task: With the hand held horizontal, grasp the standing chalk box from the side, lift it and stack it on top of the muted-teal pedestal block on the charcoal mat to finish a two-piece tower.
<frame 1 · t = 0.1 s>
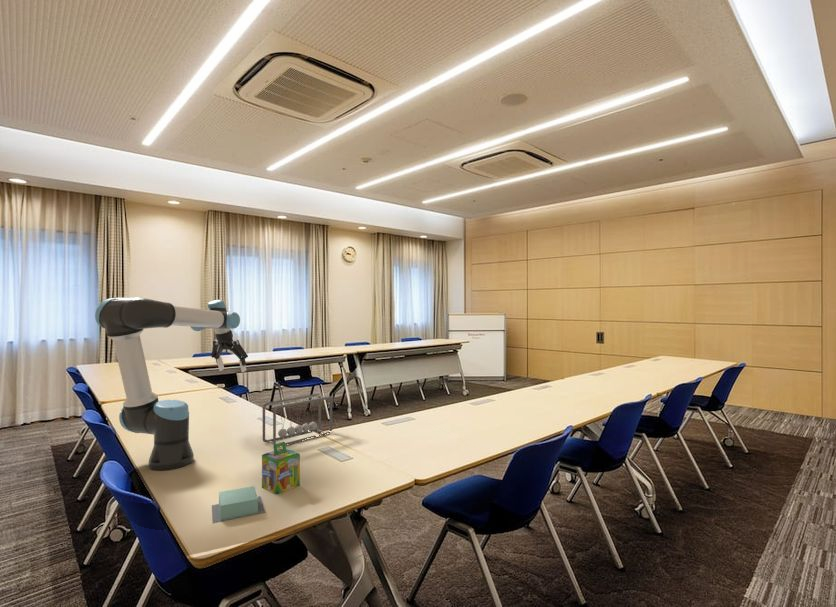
hand: (233, 370, 218), 28 cm above the table, tool tilted 20°, fingers open, 13 cm apart
pedestal: (238, 508, 129), point 1 cm above the table, touching mat
newton's cradle: (298, 438, 199), on the table
chalk box: (280, 488, 145), on the table
mat: (238, 510, 129), on the table
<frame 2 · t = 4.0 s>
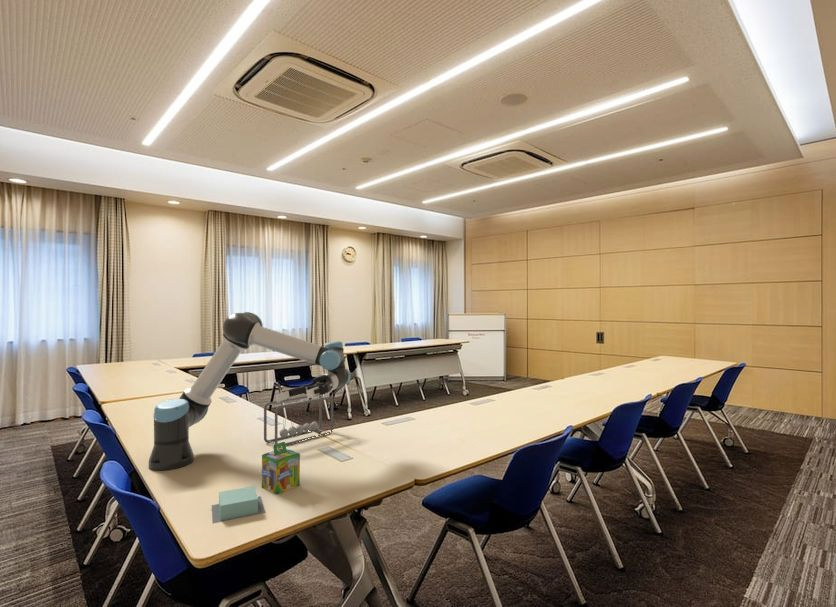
hand: (292, 396, 156), 28 cm above the table, tool horizontal, fingers open, 13 cm apart
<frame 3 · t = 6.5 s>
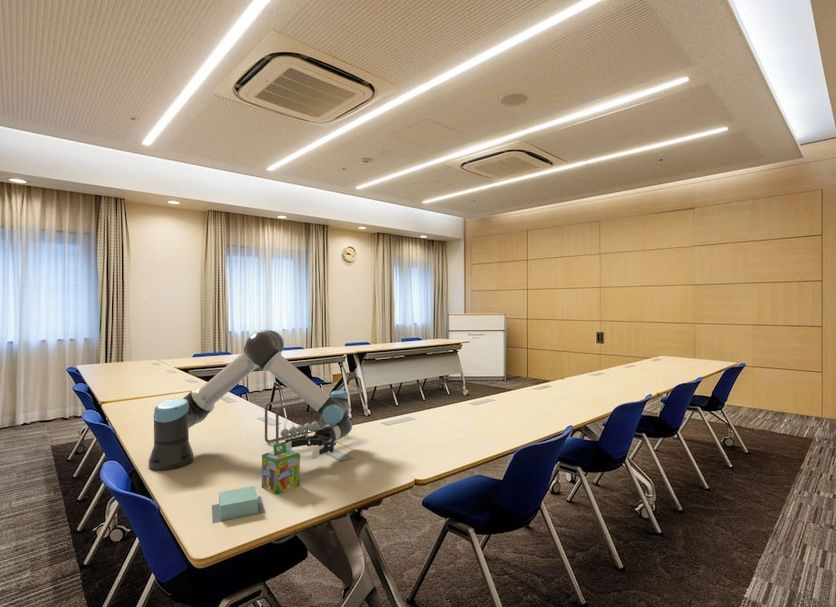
hand: (296, 452, 153), 9 cm above the table, tool horizontal, fingers open, 13 cm apart
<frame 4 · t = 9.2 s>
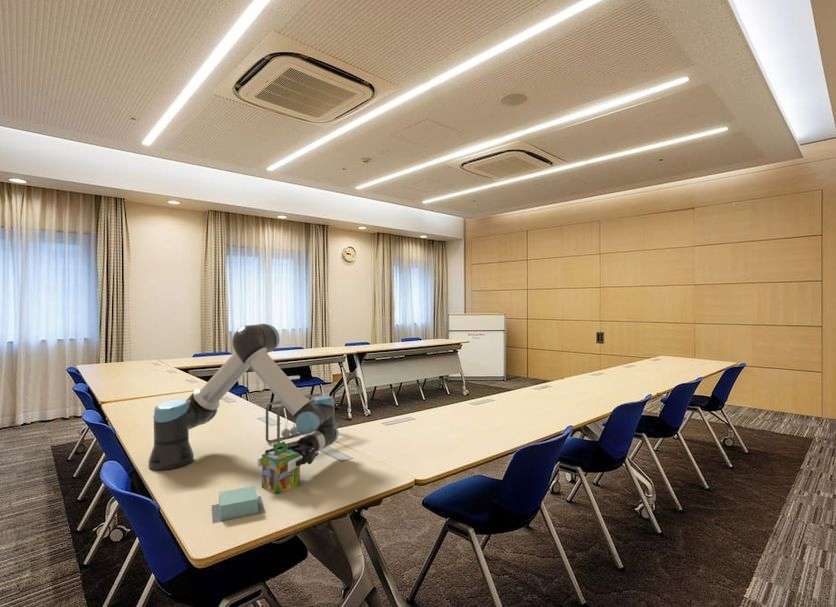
hand: (273, 465, 141), 9 cm above the table, tool horizontal, fingers closed on chalk box, 11 cm apart
chalk box: (281, 488, 145), on the table, touching gripper
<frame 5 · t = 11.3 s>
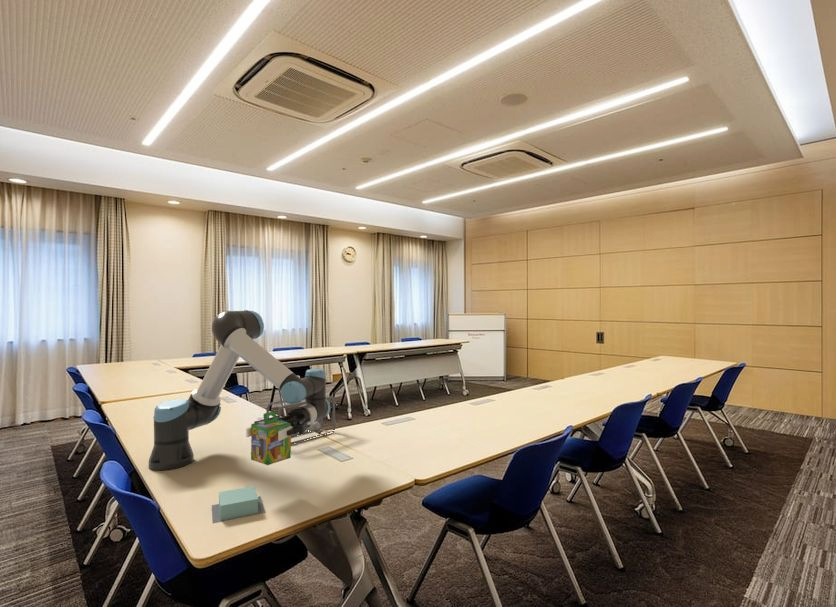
hand: (263, 434, 136), 21 cm above the table, tool horizontal, fingers closed on chalk box, 11 cm apart
chalk box: (271, 459, 139), point 11 cm above the table, touching gripper
when the fingers open (15 cm above the table, at t = 13.7 s): chalk box drops 1 cm, resting on pedestal.
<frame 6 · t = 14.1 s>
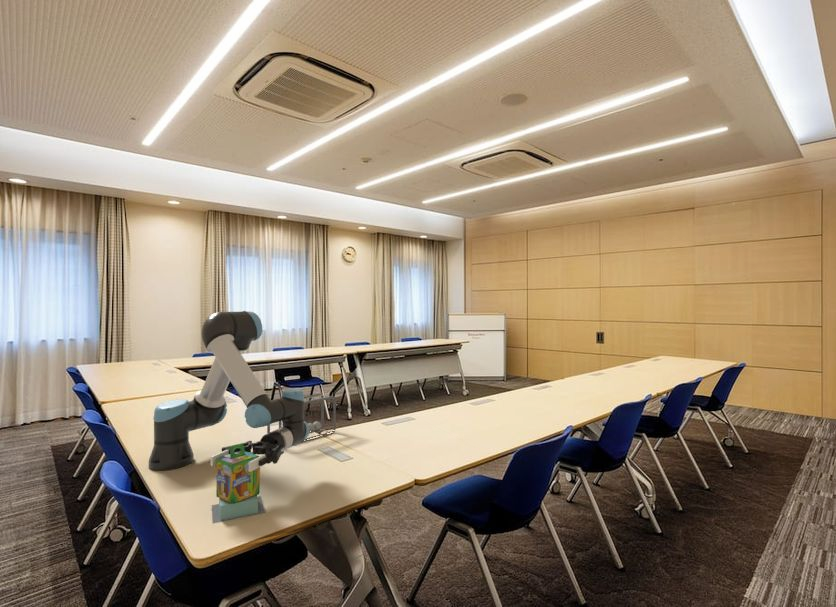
hand: (230, 464, 126), 15 cm above the table, tool horizontal, fingers open, 13 cm apart
pedestal: (238, 508, 129), point 1 cm above the table, touching chalk box, mat
chalk box: (238, 496, 129), point 4 cm above the table, touching pedestal
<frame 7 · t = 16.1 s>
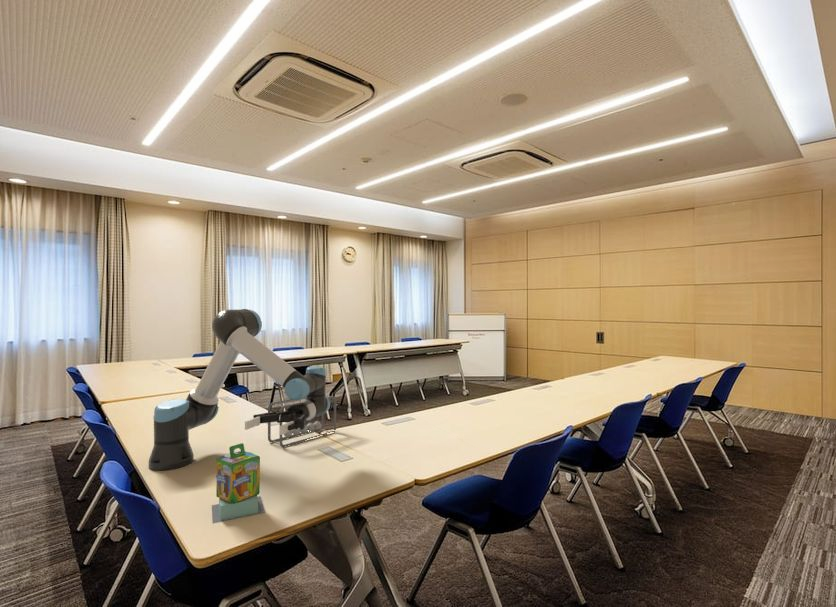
hand: (262, 428, 141), 21 cm above the table, tool horizontal, fingers open, 13 cm apart
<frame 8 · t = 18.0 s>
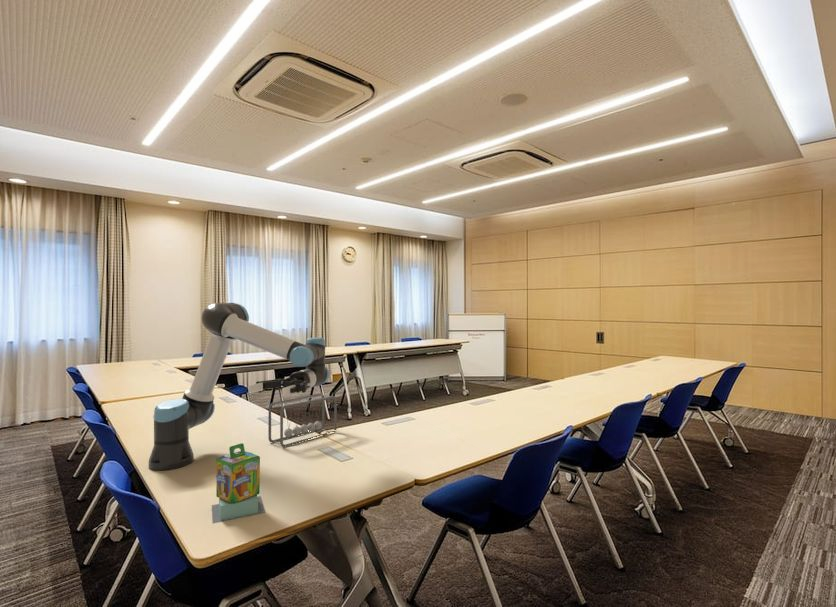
hand: (265, 391, 147), 32 cm above the table, tool horizontal, fingers open, 13 cm apart
at the end: chalk box 0.0 cm from the pedestal (horizontally); chalk box touching pedestal; chalk box tilted 0° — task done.
